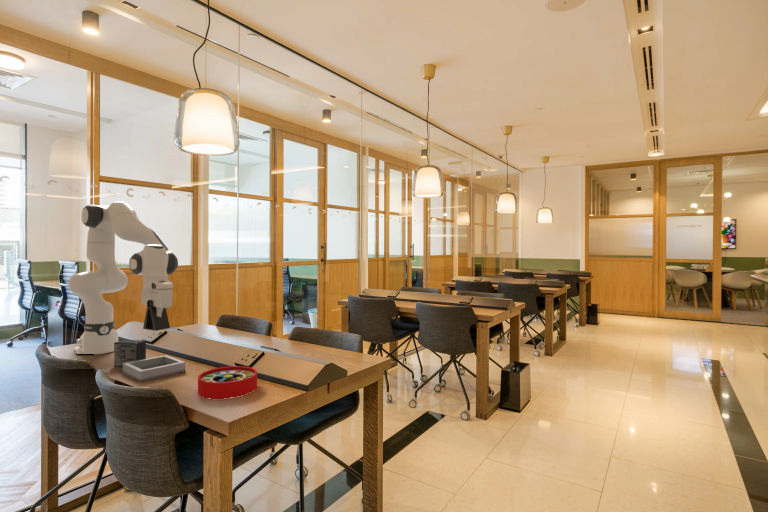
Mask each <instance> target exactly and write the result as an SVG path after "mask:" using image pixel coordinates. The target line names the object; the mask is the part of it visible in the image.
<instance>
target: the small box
mask: <svg viewBox="0 0 768 512" xmlns="http://www.w3.org/2000/svg"><path fill="white" fill-rule="evenodd" d="M146 350H147V340H143V339H141V340H140V339H122V340H118V342H114V351H113V352H114V355H113V356H114V359H113V360H114V361H113V362H114V363H113V367H115V368H123V363H128V362H133V361H138V360H143V359H147V351H146Z"/></svg>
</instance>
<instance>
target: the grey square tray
mask: <svg viewBox="0 0 768 512" xmlns="http://www.w3.org/2000/svg"><path fill="white" fill-rule="evenodd" d="M184 371H185V372H186V361H184V360H181V359H178V358H175V357H172V356H171V355H167V354H166V355H160V356H156V357H149V358H146V359H143V360H138V361H133V362H128V363H123V367H122V374H123V373H124V375H125V374H126V375H125V376H127V375H128V376H127V377H129V376H130V377H129V378H131V377H132V378H131V379H133V378H134V379H133V380H135V379H136V381H137V380H138V381H137V382H139V381H140V382H139V383H142V382H141V381H143V382H147V381H146V380H148V381H152V380H156V379H160V377H161V378H164V376H165V377H169V376H173V375H172V374H174V375H177V374H176V373H178V374H181V373H180V372H182V373H185V372H184ZM168 375H169V376H168ZM155 378H156V379H155ZM151 379H152V380H151Z"/></svg>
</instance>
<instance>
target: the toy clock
mask: <svg viewBox="0 0 768 512" xmlns="http://www.w3.org/2000/svg"><path fill="white" fill-rule="evenodd" d="M256 388H257V389H258V370H257V369H256V368H253V367H250V366H243V365H241V366H239V365H238V366H237V365H232V366H230V365H229V366H221V367H217V368H212V369H208V370H205V371H203V372H201V373H199V375H198V376H197V395H198V394H199V395H200V396H201V397H200V396H199V395H198V396H199V397H200V398H202V397H204V398H203V399H205V398H211V399H210V400H212V399H224V398H230V397H237V396H241V395H245V394H247V393H249V392H252V391H253V390H255V389H256ZM257 389H256V390H257ZM256 390H255V391H256ZM252 393H253V392H252ZM245 396H246V395H245ZM224 400H225V399H224Z"/></svg>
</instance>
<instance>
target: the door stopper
mask: <svg viewBox="0 0 768 512" xmlns="http://www.w3.org/2000/svg"><path fill="white" fill-rule="evenodd" d="M150 302H151V305H150ZM156 312H157V310H156V307H154V306H153V301H152V300H148V301H147V305H146V311H145V316H144V323H143V330H147V331H154V332H156V331H161V330H168V329H171V325H170V321H169V317H168V313H167V308H163V311H162V317H159V316H157V313H156Z"/></svg>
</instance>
